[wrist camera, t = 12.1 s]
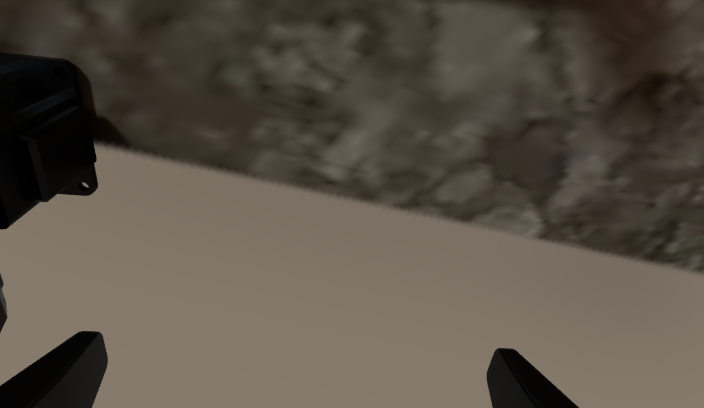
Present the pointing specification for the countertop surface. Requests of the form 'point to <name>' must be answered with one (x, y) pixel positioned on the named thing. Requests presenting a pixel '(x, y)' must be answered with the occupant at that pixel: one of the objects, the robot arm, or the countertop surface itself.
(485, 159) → the countertop surface
